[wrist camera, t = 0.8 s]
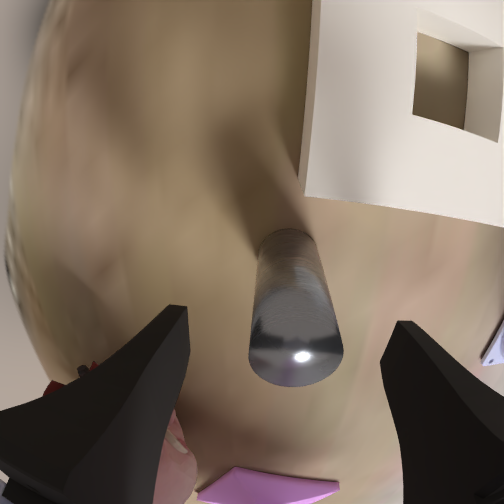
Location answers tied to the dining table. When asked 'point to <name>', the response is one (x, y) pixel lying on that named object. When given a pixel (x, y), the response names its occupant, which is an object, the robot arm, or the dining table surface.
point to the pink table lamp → (264, 489)
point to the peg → (293, 314)
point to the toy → (164, 458)
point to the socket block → (403, 109)
